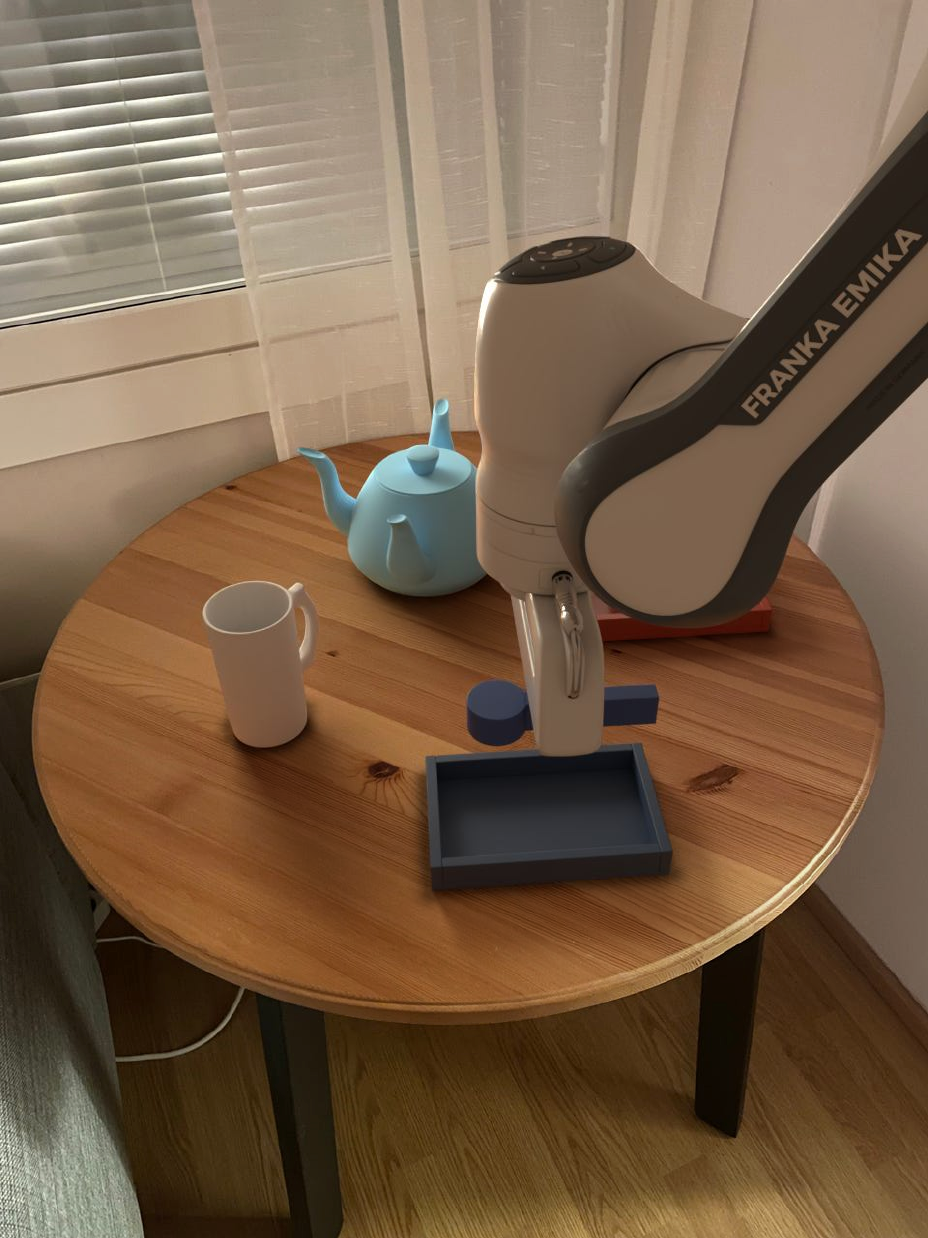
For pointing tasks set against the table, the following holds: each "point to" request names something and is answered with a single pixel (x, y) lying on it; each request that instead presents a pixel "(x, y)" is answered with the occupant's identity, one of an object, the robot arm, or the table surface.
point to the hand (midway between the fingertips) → (544, 704)
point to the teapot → (410, 515)
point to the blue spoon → (506, 712)
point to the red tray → (628, 628)
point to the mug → (262, 658)
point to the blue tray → (543, 818)
